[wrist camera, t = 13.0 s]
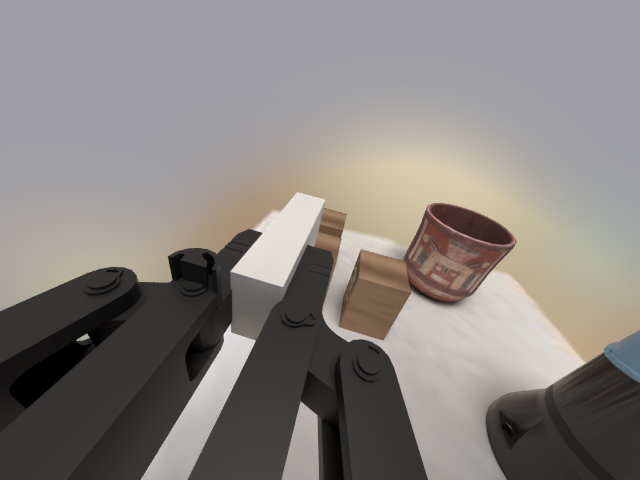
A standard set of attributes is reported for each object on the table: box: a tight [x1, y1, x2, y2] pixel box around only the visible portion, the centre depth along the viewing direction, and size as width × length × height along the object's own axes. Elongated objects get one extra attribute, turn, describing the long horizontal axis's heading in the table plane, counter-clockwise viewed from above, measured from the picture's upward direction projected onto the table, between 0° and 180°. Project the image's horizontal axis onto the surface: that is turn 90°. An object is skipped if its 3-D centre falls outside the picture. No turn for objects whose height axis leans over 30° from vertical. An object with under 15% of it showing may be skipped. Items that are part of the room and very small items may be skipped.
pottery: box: [404, 203, 516, 301], centre depth 52 cm, size 18×18×18 cm
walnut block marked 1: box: [318, 208, 347, 238], centre depth 52 cm, size 8×8×12 cm
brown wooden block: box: [314, 232, 341, 304], centre depth 43 cm, size 8×8×12 cm
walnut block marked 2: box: [339, 249, 411, 340], centre depth 41 cm, size 8×8×12 cm
